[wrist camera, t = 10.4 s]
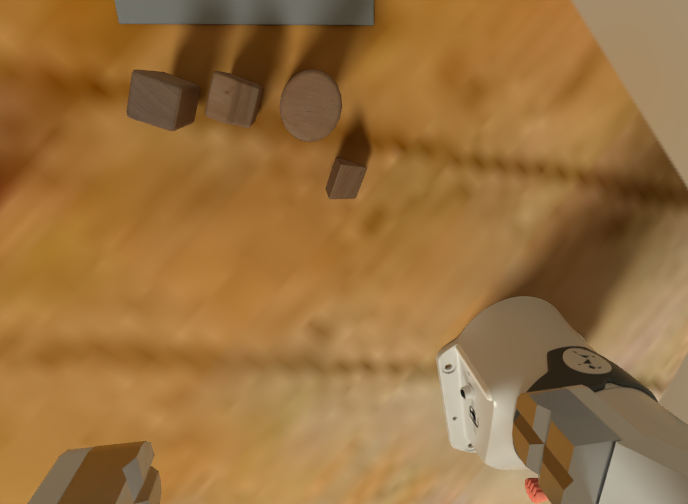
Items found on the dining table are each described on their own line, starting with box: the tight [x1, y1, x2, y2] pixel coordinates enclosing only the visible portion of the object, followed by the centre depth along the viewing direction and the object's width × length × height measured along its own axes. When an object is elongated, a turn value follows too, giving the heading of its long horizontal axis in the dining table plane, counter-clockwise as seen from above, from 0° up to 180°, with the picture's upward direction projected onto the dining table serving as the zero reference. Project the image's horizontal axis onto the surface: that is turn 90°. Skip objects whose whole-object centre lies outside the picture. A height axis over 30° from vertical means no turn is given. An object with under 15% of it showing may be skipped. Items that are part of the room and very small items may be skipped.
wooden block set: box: [127, 69, 367, 199], centre depth 28 cm, size 18×9×10 cm, turn 71°
